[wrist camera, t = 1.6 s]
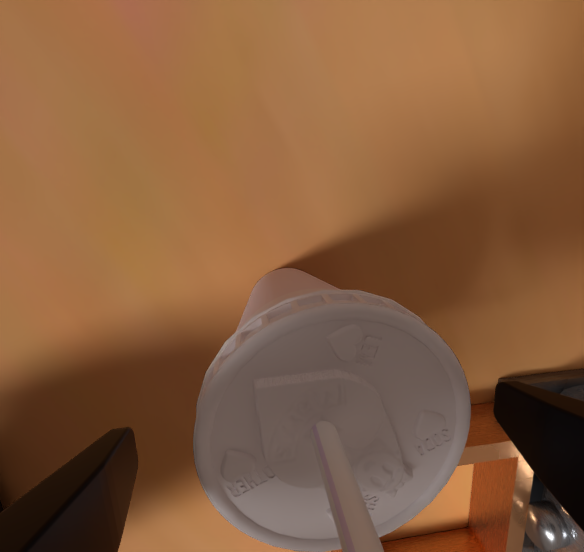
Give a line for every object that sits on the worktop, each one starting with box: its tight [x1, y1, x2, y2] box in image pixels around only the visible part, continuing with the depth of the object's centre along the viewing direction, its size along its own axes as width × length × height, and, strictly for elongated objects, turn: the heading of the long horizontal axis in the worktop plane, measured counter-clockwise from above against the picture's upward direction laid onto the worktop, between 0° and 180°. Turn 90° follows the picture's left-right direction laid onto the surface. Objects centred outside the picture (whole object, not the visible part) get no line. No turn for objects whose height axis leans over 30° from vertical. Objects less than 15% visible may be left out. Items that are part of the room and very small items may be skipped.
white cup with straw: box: [193, 268, 471, 552], centre depth 10 cm, size 6×6×14 cm
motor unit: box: [331, 369, 584, 552], centre depth 17 cm, size 19×13×8 cm
